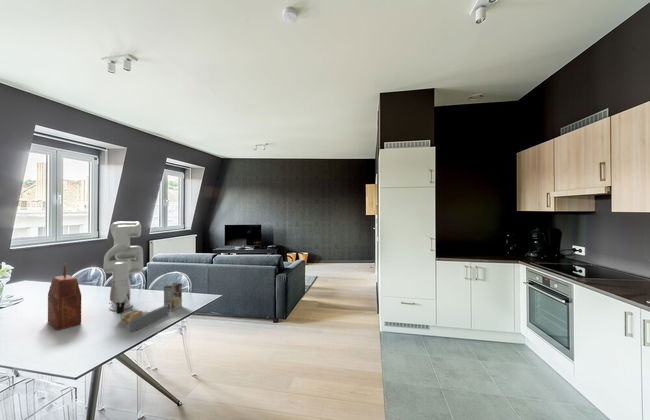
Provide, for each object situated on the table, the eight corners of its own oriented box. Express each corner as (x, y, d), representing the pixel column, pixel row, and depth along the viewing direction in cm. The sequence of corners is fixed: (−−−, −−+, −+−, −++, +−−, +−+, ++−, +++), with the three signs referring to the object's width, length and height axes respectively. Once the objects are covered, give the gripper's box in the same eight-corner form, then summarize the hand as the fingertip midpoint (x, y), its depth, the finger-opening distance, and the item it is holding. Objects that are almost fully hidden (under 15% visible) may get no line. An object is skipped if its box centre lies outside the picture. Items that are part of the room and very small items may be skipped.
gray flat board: (130, 331, 141) (130, 320, 141) (165, 314, 165) (165, 305, 165) (133, 332, 141) (133, 321, 141) (167, 314, 164) (167, 305, 164)
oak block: (121, 322, 152) (121, 314, 152) (132, 318, 159) (132, 310, 159) (131, 324, 151) (131, 315, 151) (141, 319, 158) (142, 311, 158)
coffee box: (174, 305, 180) (174, 282, 180) (182, 306, 179) (182, 283, 179) (163, 310, 171) (163, 286, 171) (171, 311, 170) (171, 287, 170)
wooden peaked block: (71, 316, 160) (72, 260, 161) (81, 324, 150) (81, 263, 150) (47, 322, 152) (48, 263, 152) (55, 331, 141) (56, 267, 141)
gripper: (104, 283, 154) (103, 314, 154) (125, 284, 151) (124, 316, 151) (116, 280, 162) (116, 309, 162) (136, 281, 159) (136, 311, 159)
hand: (120, 312), depth 156 cm, fingers closed
